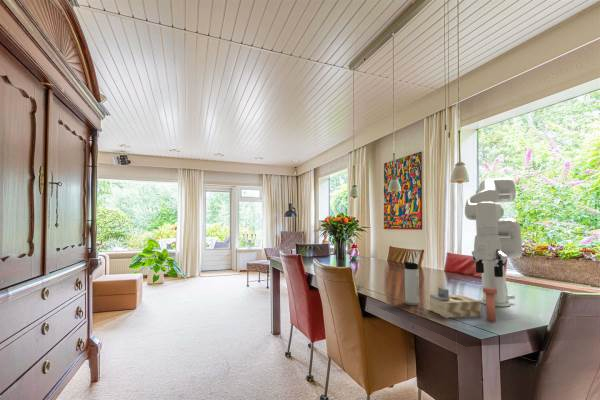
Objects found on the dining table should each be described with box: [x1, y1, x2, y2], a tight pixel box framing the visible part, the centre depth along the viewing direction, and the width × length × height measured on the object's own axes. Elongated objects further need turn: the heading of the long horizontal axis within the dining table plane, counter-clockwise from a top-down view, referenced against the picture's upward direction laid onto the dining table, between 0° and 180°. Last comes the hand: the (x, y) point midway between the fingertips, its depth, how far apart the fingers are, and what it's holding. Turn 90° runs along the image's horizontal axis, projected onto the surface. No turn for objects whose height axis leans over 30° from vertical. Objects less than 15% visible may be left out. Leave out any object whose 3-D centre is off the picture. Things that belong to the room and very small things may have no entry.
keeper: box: [429, 287, 450, 301], centre depth 128 cm, size 5×6×4 cm
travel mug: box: [403, 261, 420, 306], centre depth 143 cm, size 6×7×20 cm
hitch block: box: [429, 294, 482, 319], centre depth 128 cm, size 16×11×6 cm
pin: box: [482, 287, 497, 323], centre depth 119 cm, size 5×5×12 cm
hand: (489, 274), depth 119 cm, fingers open, 9 cm apart
